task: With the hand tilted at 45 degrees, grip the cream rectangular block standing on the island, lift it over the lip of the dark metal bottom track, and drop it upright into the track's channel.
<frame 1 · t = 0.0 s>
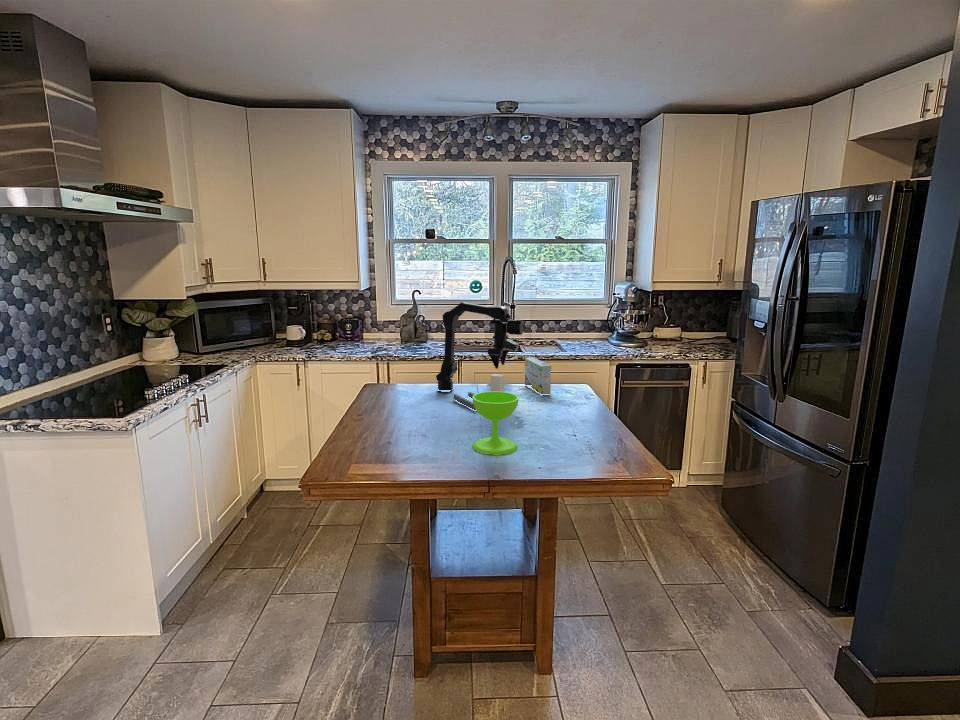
hand: (499, 366, 246), 15 cm above the table, tool pointing down, fingers open, 9 cm apart
wineglass: (494, 447, 183), on the table
cream rectangular block: (497, 400, 242), on the table
snack box: (536, 391, 261), on the table
bottom track: (472, 404, 235), on the table
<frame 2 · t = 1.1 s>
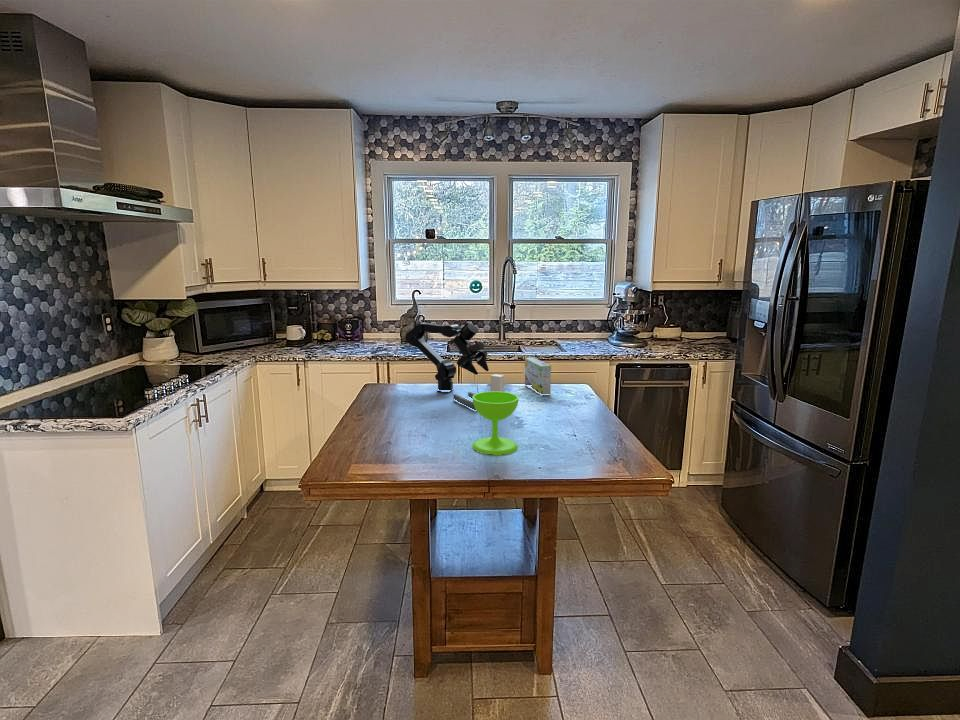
hand: (482, 372, 244), 12 cm above the table, tool tilted 45°, fingers open, 9 cm apart
nothing on the table moved.
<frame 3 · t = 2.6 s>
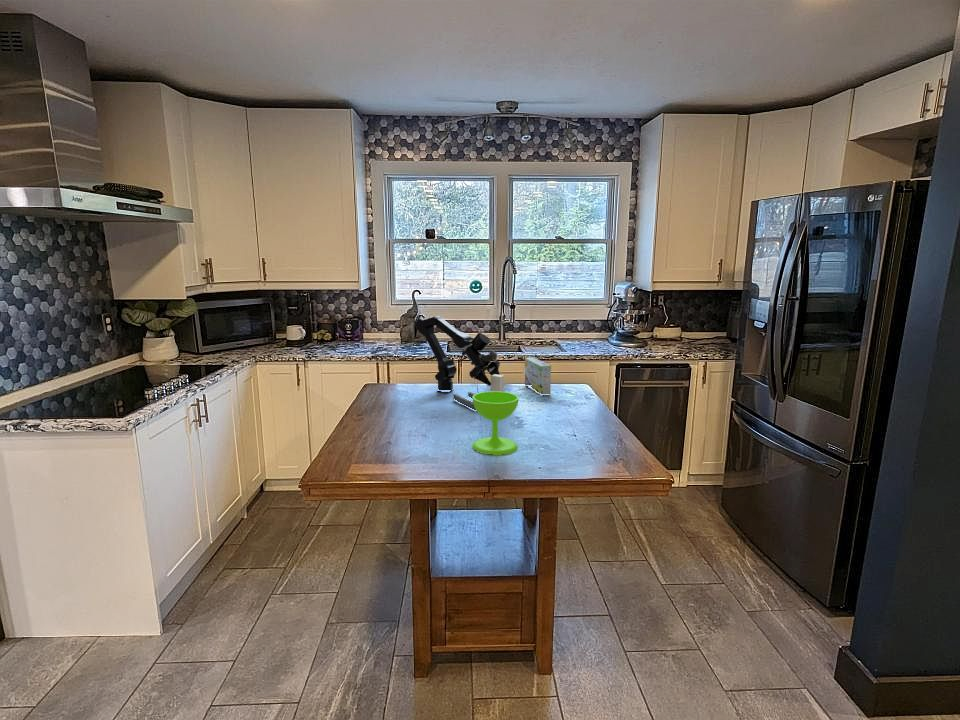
hand: (495, 383, 241), 8 cm above the table, tool tilted 45°, fingers open, 9 cm apart
nothing on the table moved.
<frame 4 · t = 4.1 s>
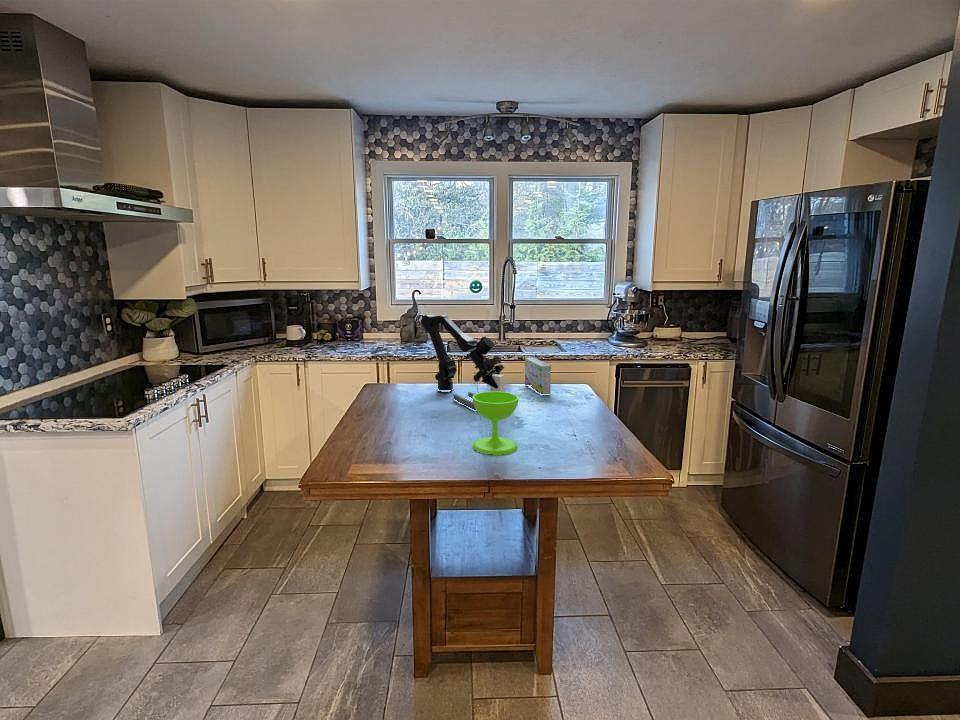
hand: (499, 387, 240), 7 cm above the table, tool tilted 45°, fingers closed on cream rectangular block, 3 cm apart
cream rectangular block: (497, 400, 242), on the table, touching gripper
everything else where it was.
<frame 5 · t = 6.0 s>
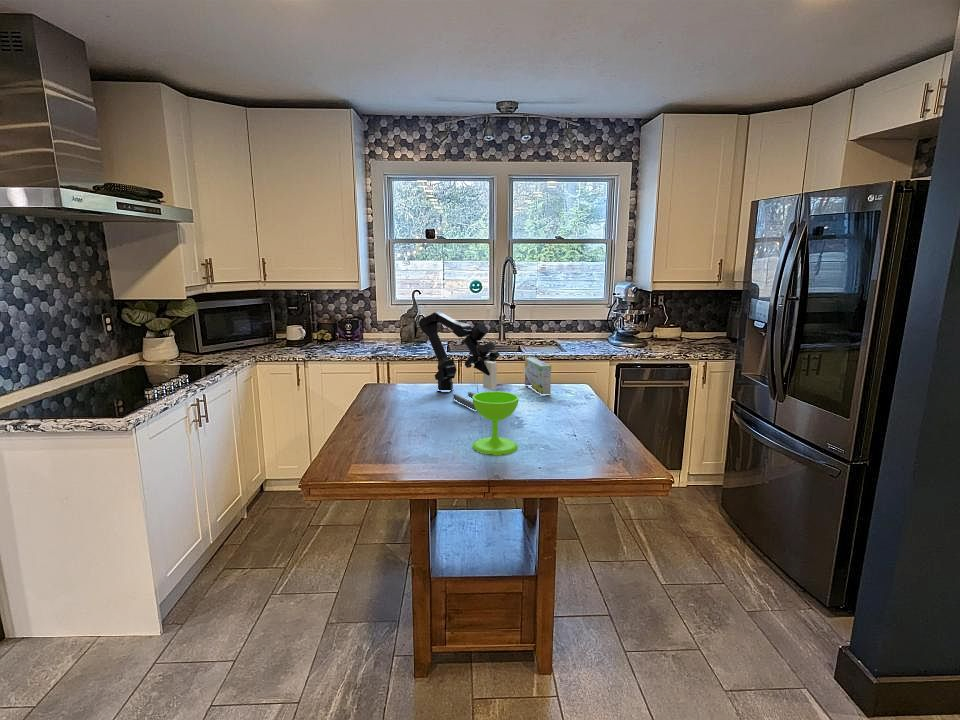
hand: (492, 374, 235), 13 cm above the table, tool tilted 45°, fingers closed on cream rectangular block, 3 cm apart
cream rectangular block: (489, 387, 238), point 7 cm above the table, touching gripper
everything else where it was.
when the fingers open (9 cm above the table, at t = 8.2 s): cream rectangular block drops 1 cm, resting on bottom track.
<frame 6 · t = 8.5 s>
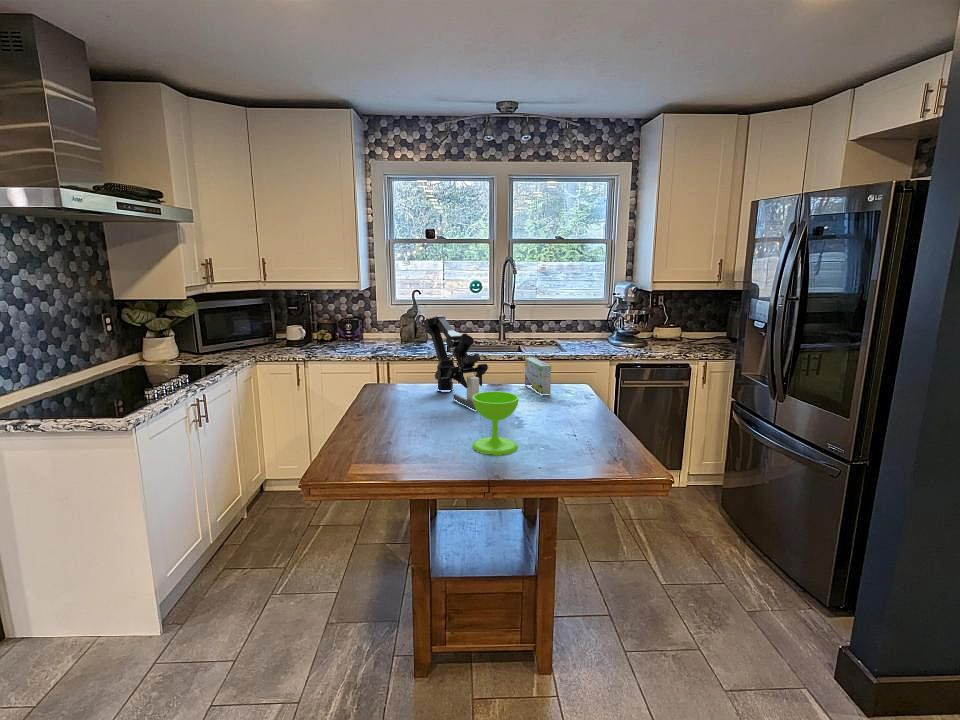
hand: (474, 386, 232), 9 cm above the table, tool tilted 45°, fingers open, 7 cm apart
cream rectangular block: (472, 403, 235), point 1 cm above the table, touching bottom track
everything else where it was.
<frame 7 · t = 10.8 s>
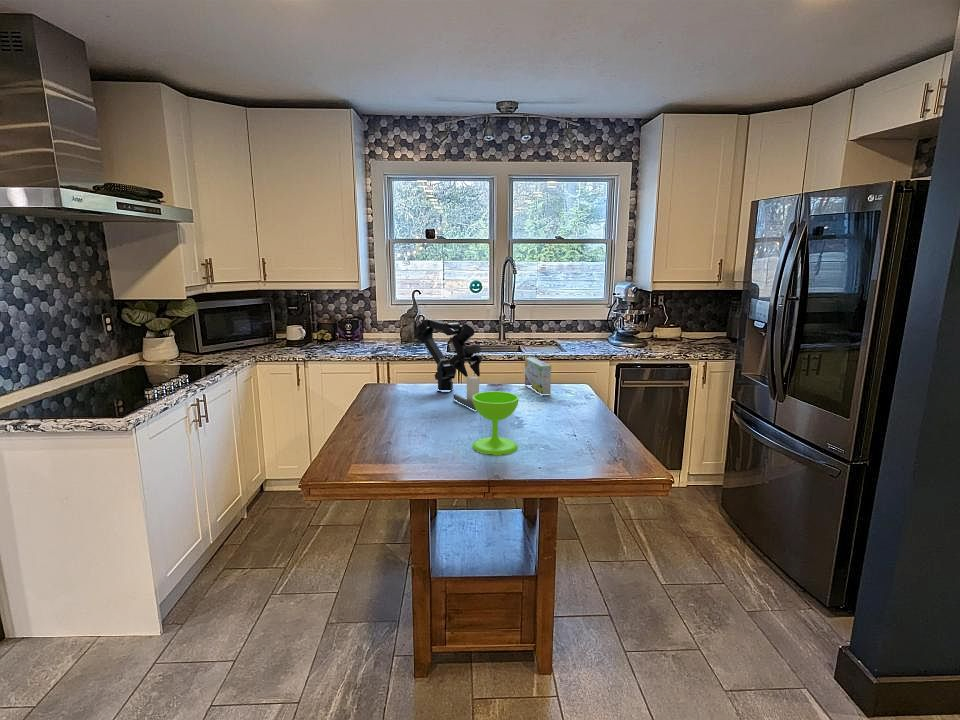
hand: (473, 376, 240), 11 cm above the table, tool tilted 35°, fingers open, 9 cm apart
nothing on the table moved.
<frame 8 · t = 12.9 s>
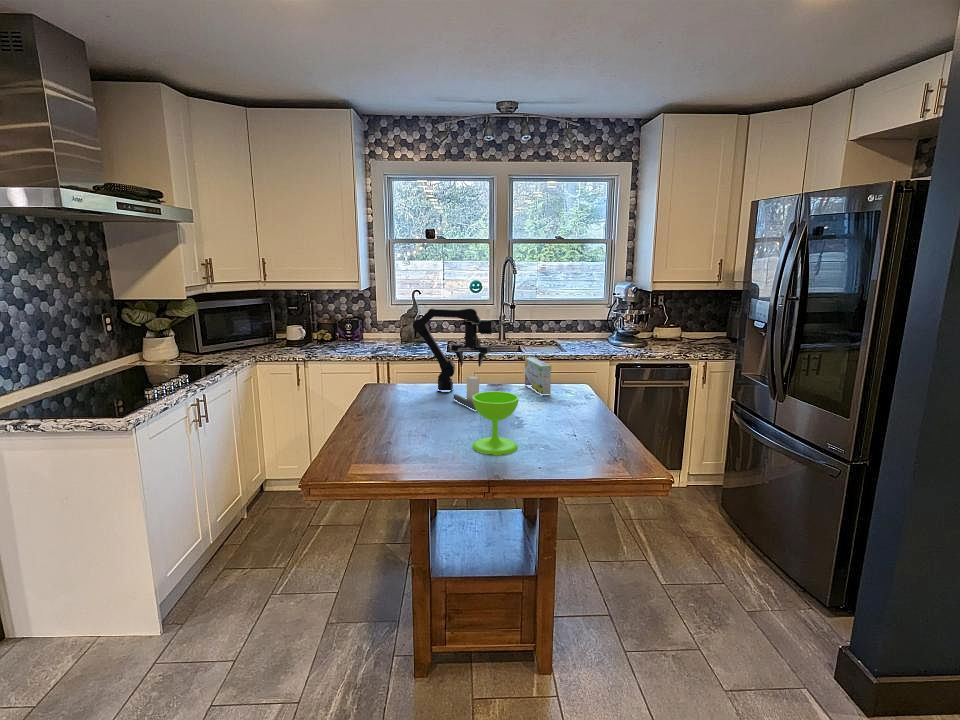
hand: (470, 365, 255), 13 cm above the table, tool pointing down, fingers open, 9 cm apart
nothing on the table moved.
at the end: cream rectangular block 0.0 cm from the bottom track (horizontally); cream rectangular block point 0.6 cm above the table; cream rectangular block tilted 0° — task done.
